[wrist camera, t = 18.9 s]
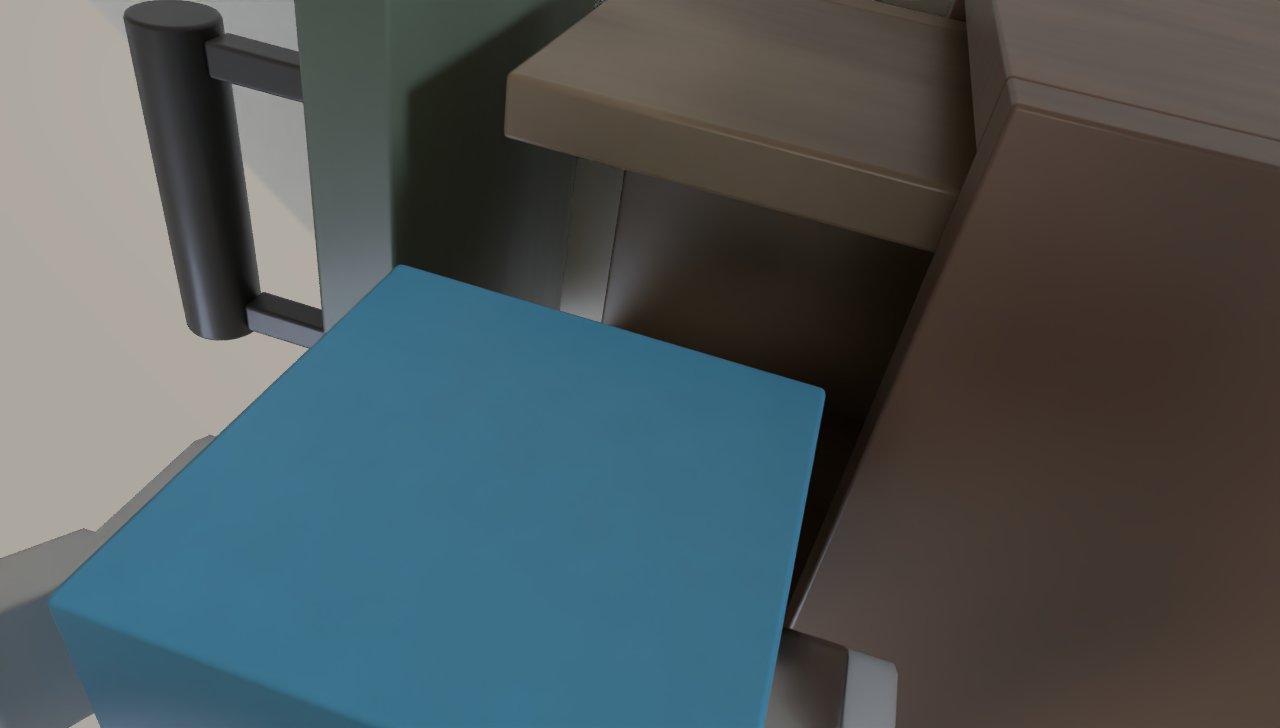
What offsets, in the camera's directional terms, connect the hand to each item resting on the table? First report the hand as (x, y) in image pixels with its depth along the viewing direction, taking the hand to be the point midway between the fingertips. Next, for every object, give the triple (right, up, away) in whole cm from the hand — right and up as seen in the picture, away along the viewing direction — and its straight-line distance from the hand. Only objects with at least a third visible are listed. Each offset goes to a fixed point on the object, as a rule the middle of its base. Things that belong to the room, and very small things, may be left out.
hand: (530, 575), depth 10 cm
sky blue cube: (0, +1, +1) cm, 2 cm away
